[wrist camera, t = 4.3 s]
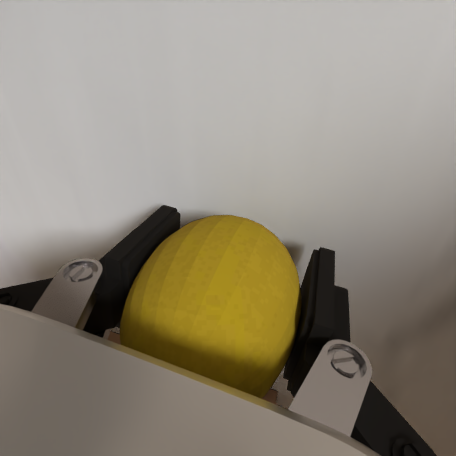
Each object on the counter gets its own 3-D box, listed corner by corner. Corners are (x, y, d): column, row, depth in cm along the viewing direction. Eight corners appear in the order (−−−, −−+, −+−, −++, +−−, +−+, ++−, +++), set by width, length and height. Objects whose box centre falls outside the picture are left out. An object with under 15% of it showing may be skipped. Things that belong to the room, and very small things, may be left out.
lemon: (319, 286, 14) (303, 509, 7) (211, 290, 16) (121, 461, 9) (295, 171, 11) (237, 339, 5) (173, 195, 13) (17, 331, 7)
